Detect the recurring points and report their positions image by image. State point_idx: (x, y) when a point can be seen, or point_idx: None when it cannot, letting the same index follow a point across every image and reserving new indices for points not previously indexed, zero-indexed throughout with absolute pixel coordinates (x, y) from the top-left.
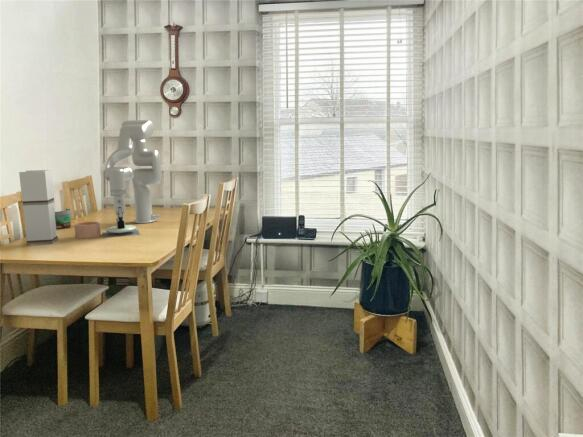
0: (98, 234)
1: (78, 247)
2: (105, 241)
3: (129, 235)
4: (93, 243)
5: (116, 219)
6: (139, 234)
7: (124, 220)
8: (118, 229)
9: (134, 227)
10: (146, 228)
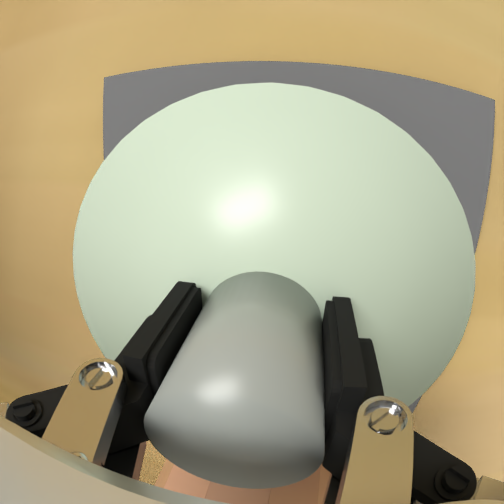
0: None
1: (500, 474)
2: (496, 406)
3: (480, 227)
4: (485, 448)
5: (252, 480)
6: (487, 106)
7: (263, 358)
8: None
9: (347, 121)
10: (51, 14)
